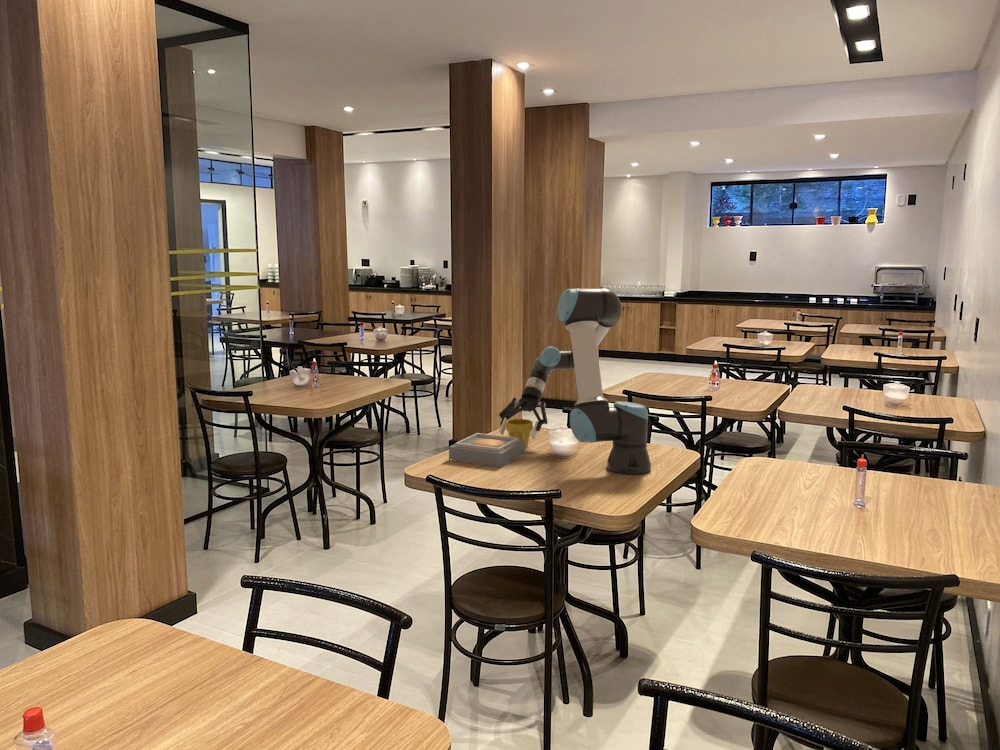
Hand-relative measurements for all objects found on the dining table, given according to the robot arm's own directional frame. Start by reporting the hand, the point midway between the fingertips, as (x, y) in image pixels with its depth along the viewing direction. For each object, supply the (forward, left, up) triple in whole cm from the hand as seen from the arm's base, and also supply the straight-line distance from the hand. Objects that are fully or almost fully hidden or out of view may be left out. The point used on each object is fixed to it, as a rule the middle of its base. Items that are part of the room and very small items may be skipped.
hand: (516, 435), depth 282 cm
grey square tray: (-2, +18, -5) cm, 19 cm away
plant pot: (+1, -2, -5) cm, 5 cm away
